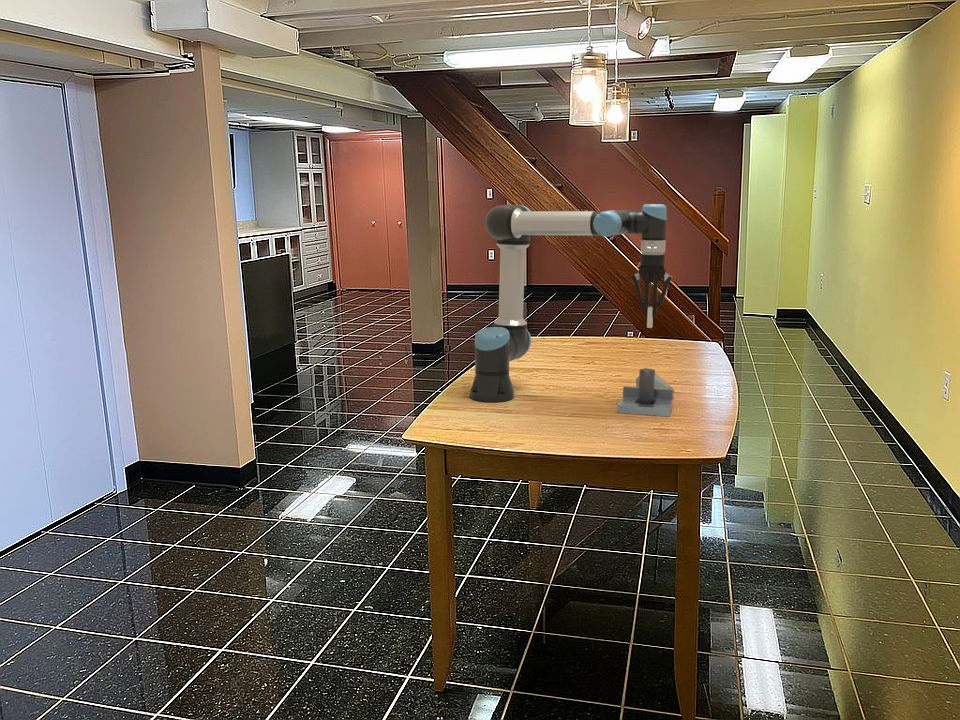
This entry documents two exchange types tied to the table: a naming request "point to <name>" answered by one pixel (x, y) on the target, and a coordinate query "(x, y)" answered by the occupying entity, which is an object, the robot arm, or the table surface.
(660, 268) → the robot arm
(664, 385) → the decorative stone
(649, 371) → the dark grey round peg
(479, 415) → the table surface
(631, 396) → the plate
